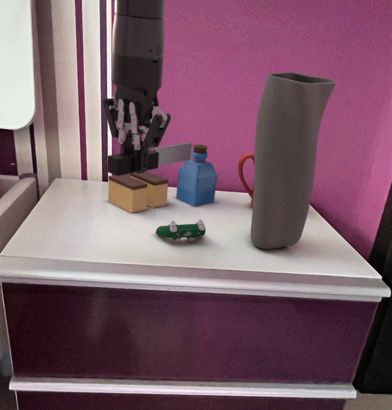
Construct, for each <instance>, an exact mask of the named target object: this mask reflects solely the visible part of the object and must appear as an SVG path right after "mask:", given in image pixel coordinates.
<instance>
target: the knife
mask: <svg viewBox="0 0 392 410" xmlns="http://www.w3.org/2000/svg"><path fill="white" fill-rule="evenodd" d="M192 147H193V143H192V142H185V143H178V144H172V145H165V146H158V147H155V148H153V150H152V149H151V148H150V149H149V150H148V163H147V164H148V165H147V169H146V171H151V170H156V169H159V167H160V166H167V165H171V164H176V163H182V162H185V161H188V160H191V159H192V158H191V157H192ZM133 166H134V152H128V153H122V154H120V153H115V154H110V155H107V173H108V174H110V175H116V176H120V175H130V174H131V173H134V171H133Z"/></svg>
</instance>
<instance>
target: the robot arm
mask: <svg viewBox="0 0 392 410" xmlns="http://www.w3.org/2000/svg"><path fill="white" fill-rule="evenodd" d="M165 4H166V0H114V16H113V17H114V18H113V24H112V25H113V26H112V37H111V38H112V39H111V40H112V41H111V83H112V84H113V85H114V87H115V91H114V94H113V96H112V97H106V98H103V99H102V105H103V110H104V112H105V116H106V120H107V124H108V127H109V132H110V135H111V137H112V138H115V139H117V142H118V143H119V147H120V148H119V151H120V152H119V154H122V153H128V152H134V166H133V171H134V173H137V174H139V173H144V172H145V171H147V170H146V169H147V165H148V164H147V163H148V150H149V149H150V150H151V149H154V148H158V147H160V144H161V142H162V140H163V137H164V135H165V133H166V131H167V128H168V127H169V124H170V122H171V121H172V117H171V113H169V112H165V113H164V111H162V109H161V108H160V107H159V106H160V102H159V99H158V92H159V91H160V89H161V88H162V85H163V70H164V53H165V52H164V51H165V19H164V18H165V7H166V5H165ZM116 123H117V124H116Z"/></svg>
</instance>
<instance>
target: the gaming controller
mask: <svg viewBox="0 0 392 410" xmlns="http://www.w3.org/2000/svg"><path fill="white" fill-rule="evenodd" d="M206 231H207V228H206V226H205V223H204V221H203V220H202V219H197V221H196V223H184V224H177V223H176V221H174V220H171V221H170V223H169V224H168V225H160V226H157V228H155V234H156V235H157V236H158V237H160V238H161V239H172V240H173V241H174V242H175V243H179V242H181V239H185V238H186V240H188V241H189V242H194V241H195V239H196V238H199V237H202V236H203V237H204V236H205V235H206Z"/></svg>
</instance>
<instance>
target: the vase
mask: <svg viewBox="0 0 392 410" xmlns="http://www.w3.org/2000/svg"><path fill="white" fill-rule="evenodd" d="M336 85H337V81H336V80H334V79H330V78H326V77H320V76H313V75H310V74H309V75H308V74H304V73H299V72H293V71H285V72H283V71H282V72H270V73H268V74H267V77H266V80H265V83H264V86H263V90H262V93H261V97H260V101H259V105H258V110H257V116H256V124H255V135H254V155H255V157H254V162H253V182H254V192H253V207H252V211H251V223H250V240H251V243H252V245H254V246H255V247H257V248H259V249H262V250H275V249H279V248H287V247H291V246H293V245H295V244H297V243H298V242H299V241H300V240H301V238H302V236H303V232H304V229H305V225H306V223H307V217H308V213H309V210H310V205H311V200H312V196H313V189H314V182H315V175H316V174H315V173H316V165H317V151H318V142H319V133H320V127H321V123H322V119H323V116H324V113H325V111H326V107H327V105H328V102H329V100H330V99H331V98H330V97H331V95H332V94H333V91H334V89H335V87H336Z"/></svg>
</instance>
